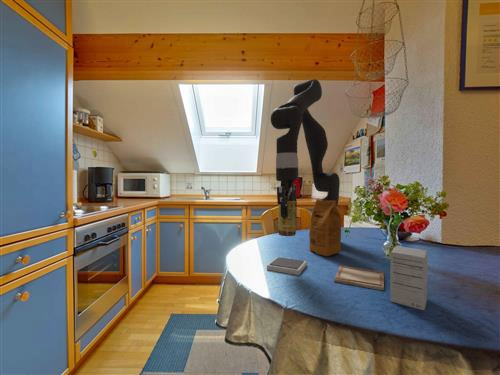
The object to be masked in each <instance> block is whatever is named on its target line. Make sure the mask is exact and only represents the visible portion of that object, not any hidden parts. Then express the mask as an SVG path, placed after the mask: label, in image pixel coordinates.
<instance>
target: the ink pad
mask: <svg viewBox="0 0 500 375" xmlns="http://www.w3.org/2000/svg"><path fill="white" fill-rule="evenodd" d="M307 265H308V263H307V260H303V259H293V258H287V257H279V256H277V257H276V258H274V259H273V260H272V261H270V262H269V263H268V264H266V270H267V271H272V272H280V273H283V274H284V273H285V274H289V275H290V274H291V275H295V276H299V275H300V274H301V273H302V272H303V270H304V269H305V268H306V267H307Z"/></svg>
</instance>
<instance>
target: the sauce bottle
mask: <svg viewBox="0 0 500 375" xmlns="http://www.w3.org/2000/svg"><path fill="white" fill-rule="evenodd" d="M294 183H295V181H289V187H292V192H291V195H290V200H288V205H287V206H288V217H286V218H284V217H281V206H280V205H278V217H277V218H278V222H277V223H278V224H277V226H278V227H277V228H278V230H277V231H278V235H279V236H281V237H294V236H296V233H297V232H296V231H297V214H298V213H297V212H298V211H297V210H298V200H297V194H296V195H295V193H294V185H295V184H294Z"/></svg>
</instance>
